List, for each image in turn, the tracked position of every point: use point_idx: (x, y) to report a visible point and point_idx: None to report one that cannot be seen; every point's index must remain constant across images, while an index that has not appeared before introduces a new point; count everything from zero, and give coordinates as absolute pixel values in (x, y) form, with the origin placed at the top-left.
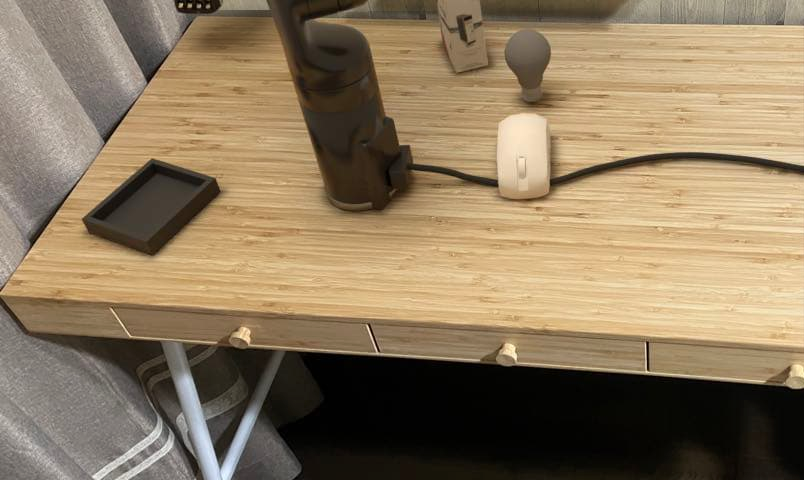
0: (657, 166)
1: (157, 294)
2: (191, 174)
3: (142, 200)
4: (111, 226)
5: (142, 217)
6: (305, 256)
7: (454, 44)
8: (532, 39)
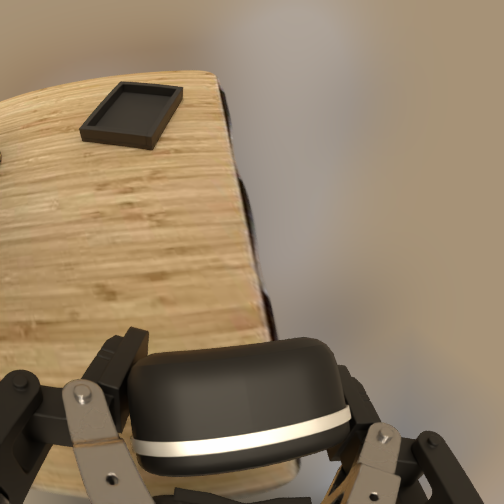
0: None
1: (109, 78)
2: (102, 127)
3: (148, 117)
4: (153, 84)
5: (140, 106)
6: (21, 115)
7: None
8: None
